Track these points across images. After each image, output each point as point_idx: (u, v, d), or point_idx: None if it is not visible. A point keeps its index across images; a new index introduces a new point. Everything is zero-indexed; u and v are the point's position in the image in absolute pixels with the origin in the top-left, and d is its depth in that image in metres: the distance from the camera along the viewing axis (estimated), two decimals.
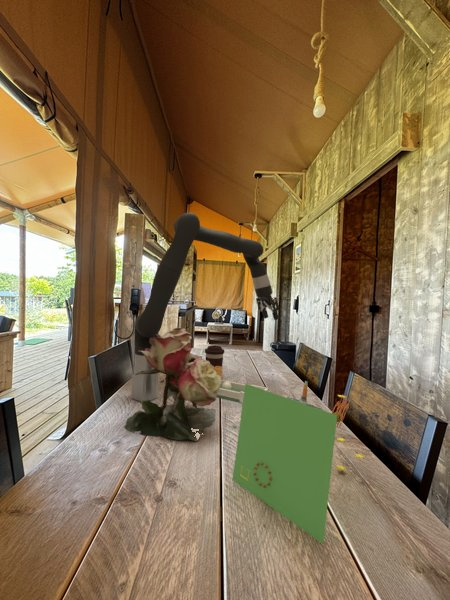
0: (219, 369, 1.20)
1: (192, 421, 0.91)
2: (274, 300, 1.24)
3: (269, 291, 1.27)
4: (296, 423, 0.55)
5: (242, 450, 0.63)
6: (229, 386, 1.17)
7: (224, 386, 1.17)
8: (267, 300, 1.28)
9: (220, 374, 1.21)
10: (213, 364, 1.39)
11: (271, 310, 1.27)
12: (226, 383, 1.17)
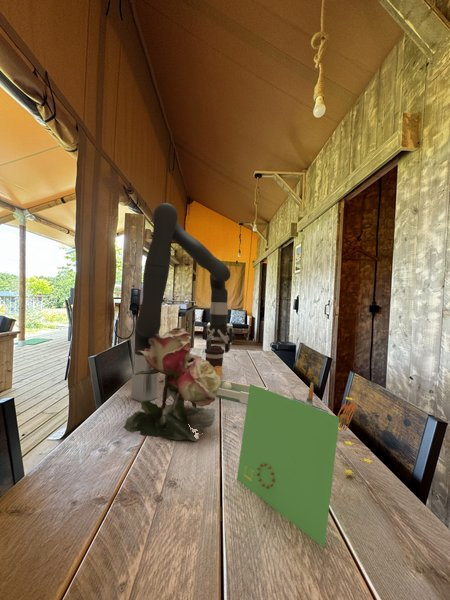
0: (219, 369, 1.20)
1: (192, 421, 0.91)
2: (232, 330, 1.17)
3: (227, 320, 1.19)
4: (299, 425, 0.54)
5: (247, 450, 0.63)
6: (229, 386, 1.17)
7: (224, 386, 1.17)
8: (223, 329, 1.18)
9: (220, 374, 1.21)
10: (213, 364, 1.39)
11: (225, 341, 1.17)
12: (226, 383, 1.17)
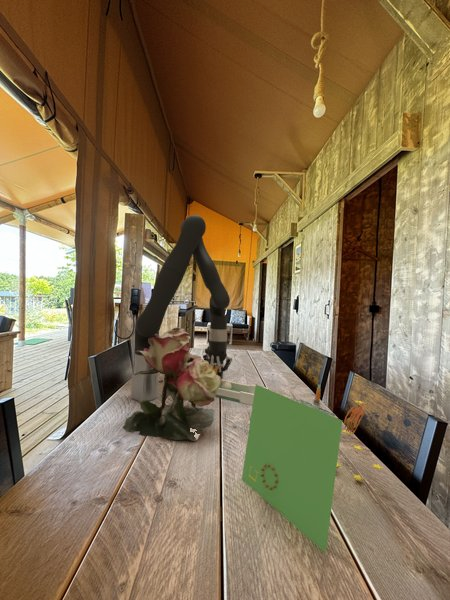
0: None
1: (191, 421, 0.91)
2: (230, 362, 1.17)
3: (226, 347, 1.19)
4: (303, 427, 0.53)
5: (251, 451, 0.63)
6: (229, 386, 1.17)
7: (224, 386, 1.17)
8: (222, 356, 1.18)
9: None
10: None
11: (219, 369, 1.19)
12: (226, 383, 1.17)
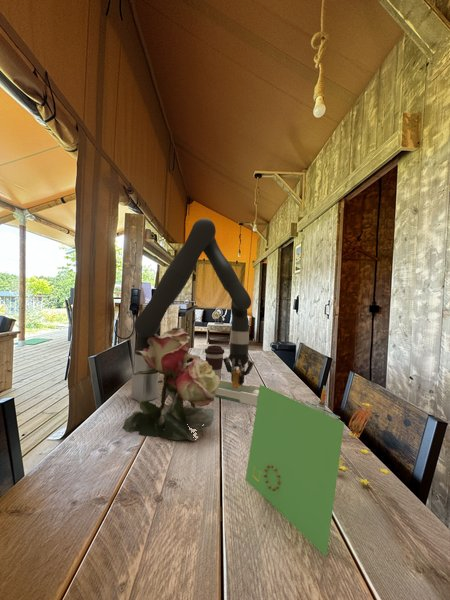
0: None
1: (191, 421, 0.91)
2: (252, 365, 1.13)
3: None
4: (305, 428, 0.53)
5: (255, 451, 0.63)
6: None
7: None
8: (244, 359, 1.13)
9: None
10: (213, 364, 1.39)
11: (240, 373, 1.14)
12: (256, 391, 1.11)
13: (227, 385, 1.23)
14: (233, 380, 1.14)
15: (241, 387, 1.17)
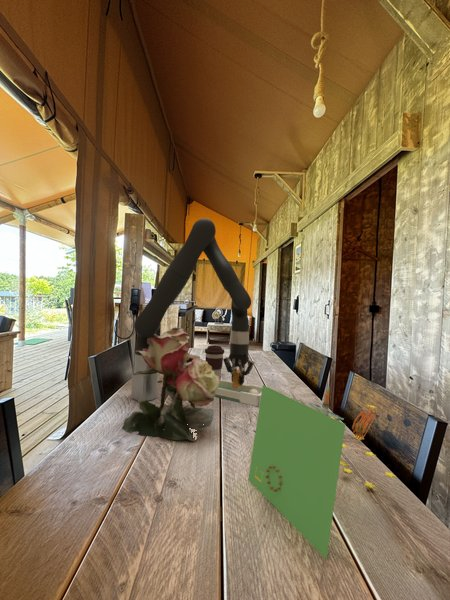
0: None
1: (190, 421, 0.91)
2: (252, 365, 1.13)
3: None
4: (307, 429, 0.52)
5: (258, 452, 0.63)
6: (254, 391, 1.12)
7: None
8: (244, 359, 1.13)
9: None
10: (213, 364, 1.39)
11: (240, 373, 1.14)
12: (250, 391, 1.12)
13: (227, 385, 1.23)
14: (233, 380, 1.14)
15: (241, 387, 1.17)
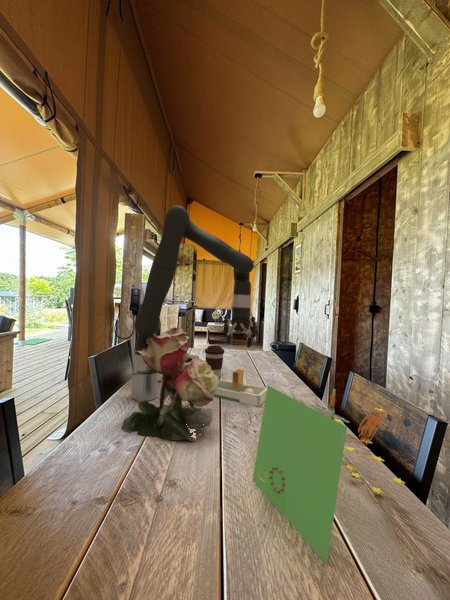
0: (240, 373, 1.15)
1: (189, 421, 0.91)
2: (256, 324, 1.12)
3: None
4: (309, 431, 0.52)
5: (262, 452, 0.62)
6: (246, 389, 1.13)
7: None
8: (246, 323, 1.13)
9: (241, 378, 1.16)
10: (213, 364, 1.39)
11: (248, 335, 1.13)
12: None
13: (227, 385, 1.23)
14: (233, 380, 1.14)
15: (241, 387, 1.17)
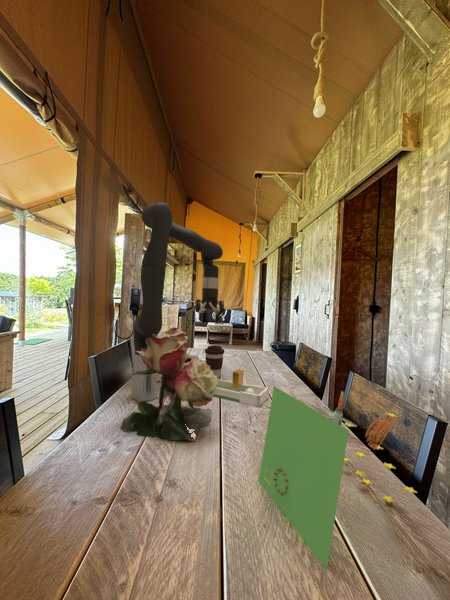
0: (240, 373, 1.15)
1: (189, 421, 0.91)
2: (222, 303, 1.29)
3: (217, 294, 1.31)
4: (312, 433, 0.51)
5: (267, 453, 0.62)
6: (247, 389, 1.13)
7: None
8: (214, 302, 1.30)
9: (241, 378, 1.16)
10: (213, 364, 1.39)
11: (215, 312, 1.30)
12: None
13: (227, 385, 1.23)
14: (233, 380, 1.14)
15: (241, 387, 1.17)
